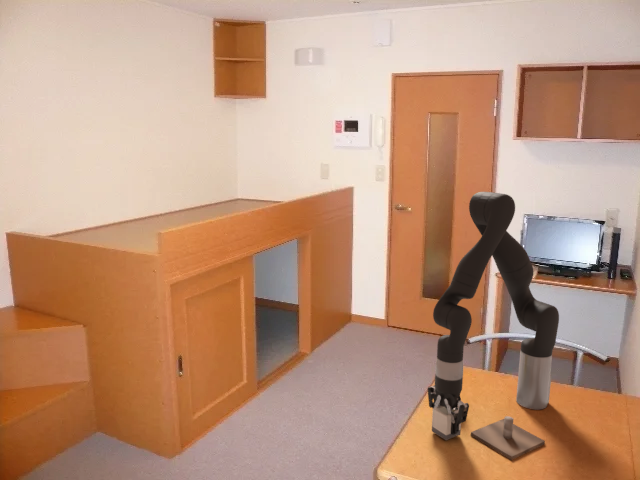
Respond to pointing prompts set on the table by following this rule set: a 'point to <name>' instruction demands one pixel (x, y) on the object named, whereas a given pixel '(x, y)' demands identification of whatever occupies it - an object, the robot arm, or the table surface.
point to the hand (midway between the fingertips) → (446, 428)
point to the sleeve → (443, 423)
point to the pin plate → (507, 438)
